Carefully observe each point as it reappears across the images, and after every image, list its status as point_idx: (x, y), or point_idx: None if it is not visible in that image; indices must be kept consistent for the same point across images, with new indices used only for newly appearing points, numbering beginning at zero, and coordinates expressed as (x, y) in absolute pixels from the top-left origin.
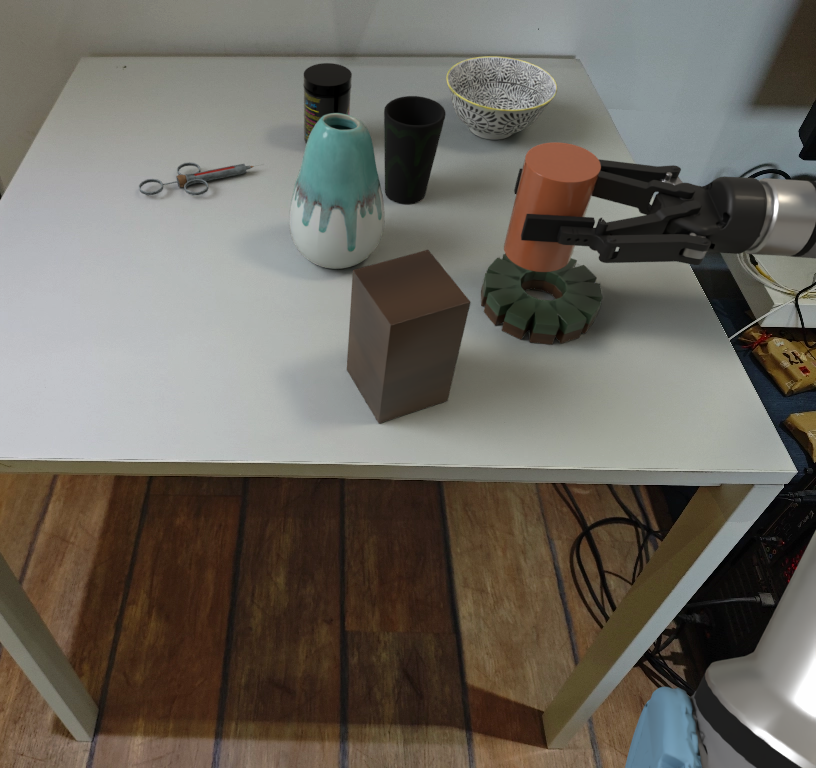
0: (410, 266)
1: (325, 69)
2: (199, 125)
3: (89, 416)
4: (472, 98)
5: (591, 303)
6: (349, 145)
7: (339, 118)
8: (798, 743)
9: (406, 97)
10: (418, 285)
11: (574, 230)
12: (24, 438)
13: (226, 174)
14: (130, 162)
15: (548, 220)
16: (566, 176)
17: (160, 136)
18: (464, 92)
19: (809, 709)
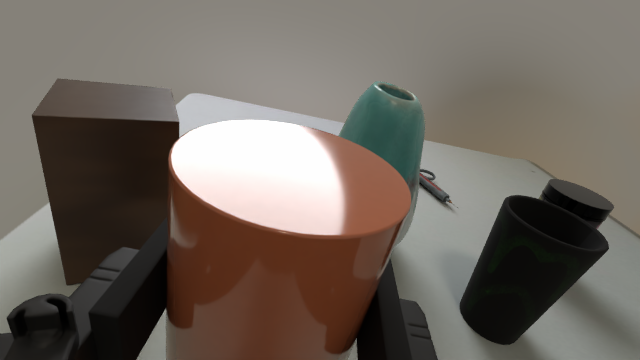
0: (151, 106)
1: (588, 194)
2: (492, 190)
3: (185, 124)
4: None
5: None
6: (365, 98)
7: (411, 100)
8: None
9: (582, 220)
10: (110, 101)
11: (111, 274)
12: (179, 111)
13: (431, 188)
14: (425, 161)
15: (166, 217)
16: (211, 143)
17: (463, 174)
18: None
19: None
